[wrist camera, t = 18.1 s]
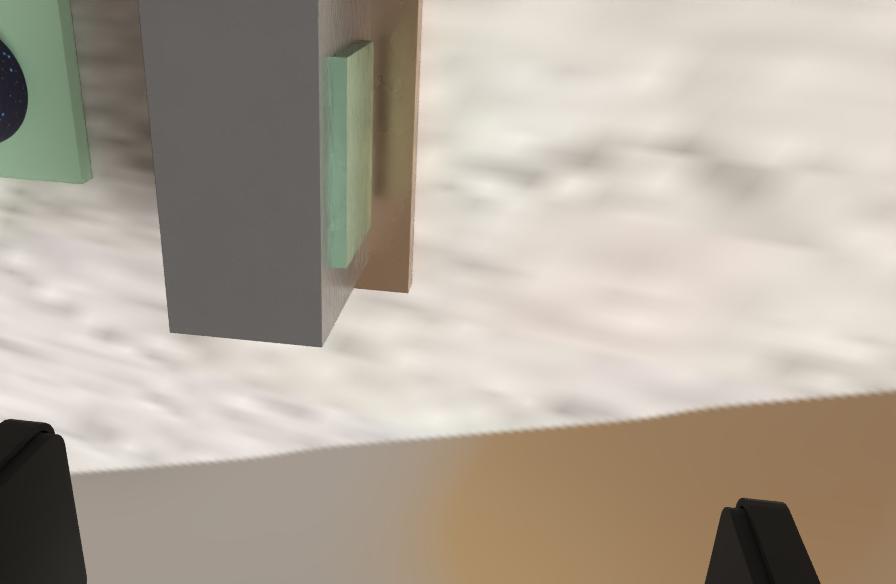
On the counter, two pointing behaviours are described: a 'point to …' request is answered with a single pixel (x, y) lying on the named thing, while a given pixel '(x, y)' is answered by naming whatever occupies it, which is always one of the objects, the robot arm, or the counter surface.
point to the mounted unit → (281, 158)
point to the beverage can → (11, 94)
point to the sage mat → (45, 94)
